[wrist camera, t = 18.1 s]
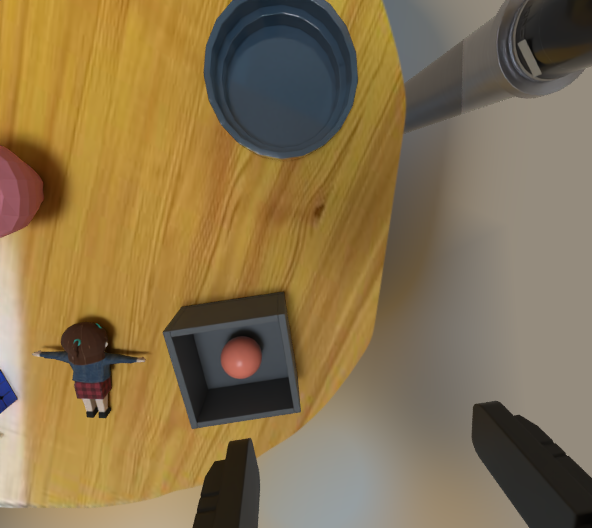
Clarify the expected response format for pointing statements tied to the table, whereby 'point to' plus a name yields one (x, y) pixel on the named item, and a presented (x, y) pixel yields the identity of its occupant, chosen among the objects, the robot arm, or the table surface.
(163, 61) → the table surface
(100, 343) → the toy
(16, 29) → the table surface
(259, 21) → the bowl
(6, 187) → the apple
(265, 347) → the bin
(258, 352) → the toy ball
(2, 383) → the rubik's cube
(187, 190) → the table surface
